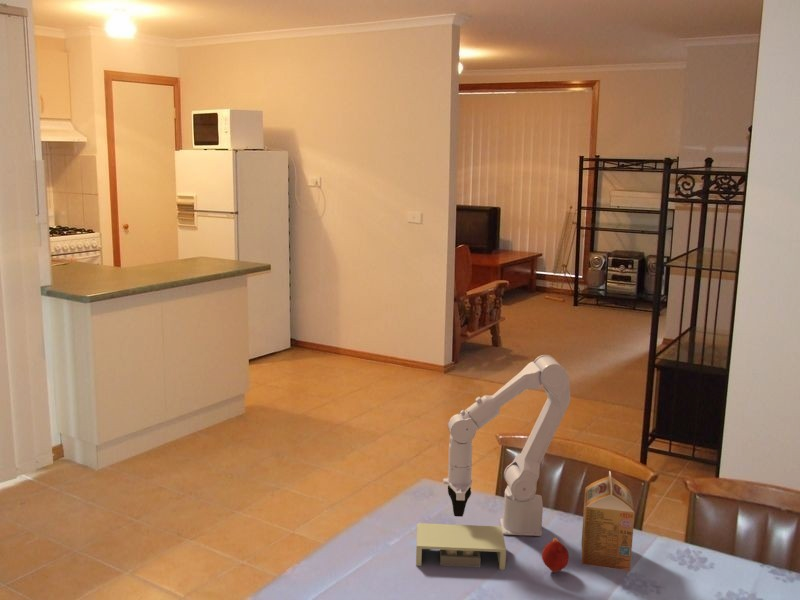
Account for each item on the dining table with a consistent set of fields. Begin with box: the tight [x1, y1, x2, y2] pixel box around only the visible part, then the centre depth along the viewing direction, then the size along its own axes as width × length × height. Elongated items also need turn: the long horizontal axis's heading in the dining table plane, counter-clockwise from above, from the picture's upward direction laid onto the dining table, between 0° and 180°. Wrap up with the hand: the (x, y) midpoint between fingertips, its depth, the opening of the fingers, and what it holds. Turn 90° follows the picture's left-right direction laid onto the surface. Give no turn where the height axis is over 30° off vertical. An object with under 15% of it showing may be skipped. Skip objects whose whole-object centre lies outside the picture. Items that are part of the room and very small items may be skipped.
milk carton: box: [581, 470, 636, 571], centre depth 177 cm, size 10×11×19 cm
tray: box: [439, 549, 482, 568], centre depth 178 cm, size 9×11×3 cm
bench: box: [415, 522, 507, 570], centre depth 177 cm, size 20×11×5 cm, turn 88°
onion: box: [541, 537, 570, 573], centre depth 171 cm, size 6×6×8 cm
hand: (458, 515), depth 190 cm, fingers closed
